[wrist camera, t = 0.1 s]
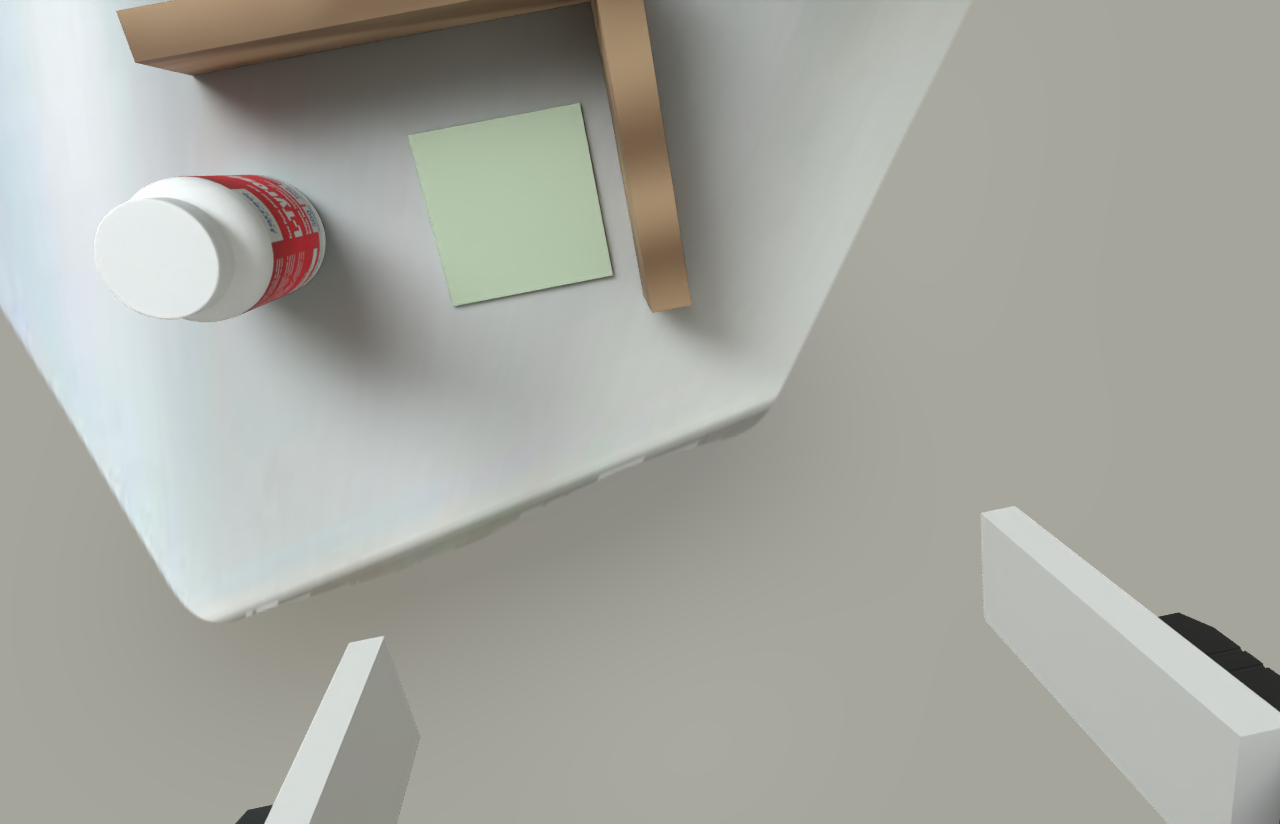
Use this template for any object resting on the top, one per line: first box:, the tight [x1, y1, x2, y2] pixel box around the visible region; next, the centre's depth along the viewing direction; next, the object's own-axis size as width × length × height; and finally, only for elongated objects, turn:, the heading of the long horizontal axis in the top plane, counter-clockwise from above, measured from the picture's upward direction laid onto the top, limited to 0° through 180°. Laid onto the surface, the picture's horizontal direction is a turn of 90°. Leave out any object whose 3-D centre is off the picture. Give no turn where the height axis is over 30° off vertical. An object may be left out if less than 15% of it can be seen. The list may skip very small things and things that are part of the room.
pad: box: [407, 103, 613, 306], centre depth 40 cm, size 9×9×1 cm
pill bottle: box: [94, 175, 326, 322], centre depth 34 cm, size 6×6×11 cm
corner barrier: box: [116, 0, 692, 313], centre depth 36 cm, size 17×22×5 cm
